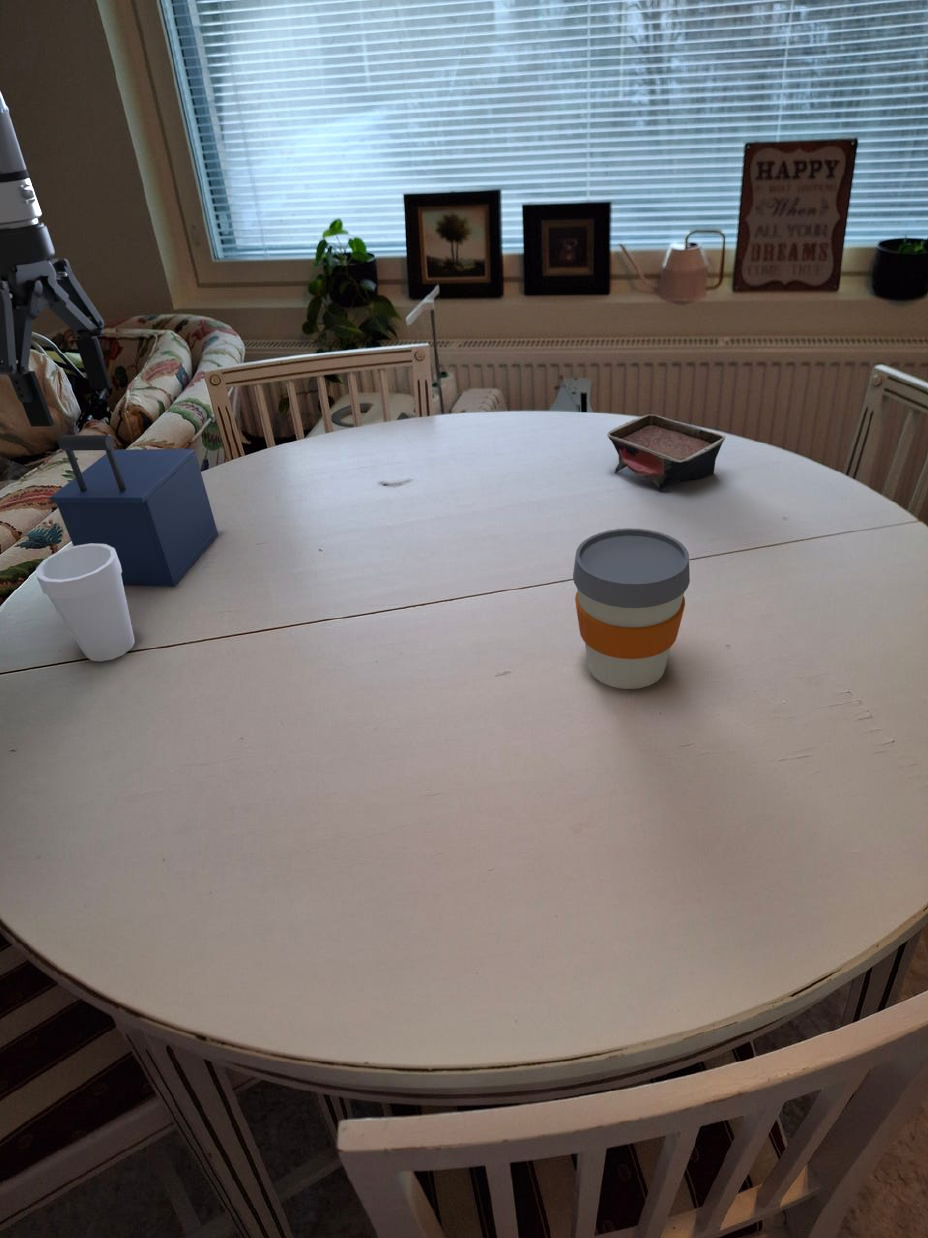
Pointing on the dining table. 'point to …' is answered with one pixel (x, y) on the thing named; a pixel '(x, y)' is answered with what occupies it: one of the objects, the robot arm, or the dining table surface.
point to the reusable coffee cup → (630, 603)
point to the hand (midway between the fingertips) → (74, 406)
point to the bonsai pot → (665, 449)
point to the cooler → (150, 528)
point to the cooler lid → (117, 471)
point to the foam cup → (89, 598)
